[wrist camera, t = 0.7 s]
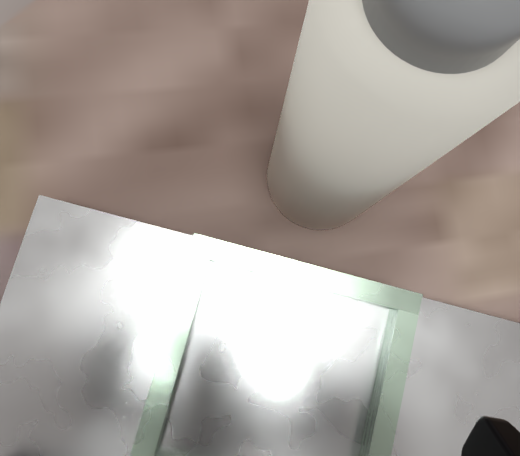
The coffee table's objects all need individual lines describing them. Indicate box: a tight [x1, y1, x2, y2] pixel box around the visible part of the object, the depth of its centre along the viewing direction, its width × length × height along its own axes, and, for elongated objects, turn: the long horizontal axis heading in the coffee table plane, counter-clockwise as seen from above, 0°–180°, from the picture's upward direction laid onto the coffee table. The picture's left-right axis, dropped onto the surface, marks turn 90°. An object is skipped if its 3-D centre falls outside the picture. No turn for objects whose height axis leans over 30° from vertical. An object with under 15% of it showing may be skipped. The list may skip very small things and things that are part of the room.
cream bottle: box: [267, 0, 520, 230], centre depth 15 cm, size 5×5×14 cm
